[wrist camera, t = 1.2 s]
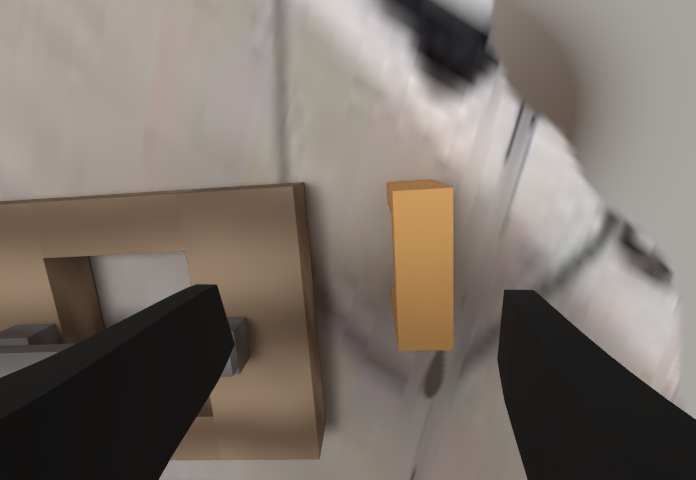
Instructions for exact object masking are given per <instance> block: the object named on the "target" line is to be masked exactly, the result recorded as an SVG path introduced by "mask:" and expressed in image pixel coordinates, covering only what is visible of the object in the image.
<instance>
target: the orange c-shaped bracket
mask: <svg viewBox="0 0 696 480" xmlns="http://www.w3.org/2000/svg"><path fill="white" fill-rule="evenodd" d="M387 198H388V206H389V208H390V211H391V214H392V236H393V261H394V286H391V293H392V308H393V315H394V322H395V329H396V336H397V343H398V350H399V351H432V350H454V288H453V187H450V186H448V185H445V184H442V183H439V182H437V181H434V180H418V181H402V182H387Z"/></svg>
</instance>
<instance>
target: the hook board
mask: <svg viewBox="0 0 696 480" xmlns="http://www.w3.org/2000/svg"><path fill="white" fill-rule="evenodd" d="M177 251H186V257H187V263H188V269H189V274H190V280H191V286H193V285H196V284H217V286H218V289H219V293H220V296H221V299H222V303H223V306H224V309H225V313H226V316H227V319H228V323H229V326H230V330H231V333H232V336H233V340H234V343H235V345H234V348H233V350H232V352H231V355H230V357H229V360H228V362H227V364H226V366H225V368H224V371H223V373H222V375H221V377H220V379H219V381H218V382H217V384H216V386H215V388H214V389H213V391H212V392H211V394H210V396H209V397H208V399H207V401H206V402H205V404H204V406H203V407H202V409H201V411H200V412H199V414H198V415H197V417H196V419H195V420H194V422H193V423H192V425H191V427H190V428H189V430H188V431H187V433H186V435H185V436H184V438H183V440H182V441H181V443H180V444H179V446H178V448H177V449H176V451H175V452H174V454H173V456H172V457H171V459H170V460H282V459H320V453H321V447H322V442H323V436H324V430H325V424H326V421H325V410H324V399H323V389H322V378H321V367H320V356H319V345H318V334H317V323H316V312H315V301H314V290H313V279H312V268H311V258H310V247H309V236H308V225H307V214H306V203H305V192H304V182H301V183H286V184H270V185H254V186H238V187H222V188H206V189H191V190H175V191H159V192H143V193H127V194H112V195H96V196H80V197H64V198H48V199H32V200H17V201H1V202H0V378H1V377H3V376H6V375H8V374H10V373H13V372H15V371H17V370H20V369H22V368H25V367H27V366H29V365H32V364H34V363H36V362H38V361H41V360H43V359H45V358H47V357H50V356H52V355H54V354H56V353H58V352H60V351H63V350H65V349H67V348H69V347H71V346H73V345H75V344H77V343H79V342H81V341H83V340H85V339H87V338H89V337H91V336H93V335H95V334H97V333H99V332H101V331H103V330H105V327H104V323H103V319H102V314H101V310H100V306H99V301H98V297H97V292H96V288H95V284H94V279H93V275H92V271H91V266H90V262H89V258H88V256H97V255H117V254H137V253H157V252H177Z"/></svg>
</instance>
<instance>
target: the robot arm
mask: <svg viewBox="0 0 696 480" xmlns="http://www.w3.org/2000/svg"><path fill="white" fill-rule="evenodd" d="M234 345H235V343H234V340H233V336H232V333H231V330H230V326H229V323H228V319H227V316H226V313H225V309H224V306H223V303H222V299H221V296H220V293H219V289H218V286H217V284H196V285H193V286H191V287H188V288H186V289H184V290H182V291H180V292H177V293H175V294H173V295H171V296H169V297H167V298H165V299H163V300H161V301H159V302H157V303H155V304H154V305H152V306H150V307H148V308H146V309H144V310H142V311H140V312H138V313H136V314H134V315H132V316H130V317H129V318H127V319H125V320H123V321H121V322H119V323H117V324H115V325H113V326H111V327H109V328H107V329H105V330H103V331H101V332H99V333H97V334H95V335H93V336H91V337H89V338H87V339H85V340H83V341H81V342H79V343H77V344H75V345H73V346H71V347H69V348H67V349H65V350H63V351H60V352H58V353H56V354H54V355H52V356H50V357H47V358H45V359H43V360H41V361H38V362H36V363H34V364H32V365H29V366H27V367H25V368H22V369H20V370H17V371H15V372H13V373H10V374H8V375H6V376H3V377H1V378H0V480H159V478H160V476H161V474H162V473H163V471H164V469H165V467H166V466H167V464H168V462H169V460H170V459H171V457H172V456H173V454H174V452H175V451H176V449H177V448H178V446H179V444H180V443H181V441H182V440H183V438H184V436H185V435H186V433H187V431H188V430H189V428H190V427H191V425H192V423H193V422H194V420H195V419H196V417H197V415H198V414H199V412H200V411H201V409H202V407H203V406H204V404H205V402H206V401H207V399H208V397H209V396H210V394H211V392H212V391H213V389H214V388H215V386H216V384H217V382H218V381H219V379H220V377H221V375H222V373H223V371H224V368H225V366H226V364H227V362H228V360H229V357H230V355H231V352H232V350H233V348H234ZM497 359H498V366H499V372H500V378H501V384H502V389H503V395H504V401H505V404H506V408H507V411H508V415H509V418H510V422H511V425H512V428H513V432H514V435H515V439H516V442H517V445H518V449H519V452H520V455H521V459H522V462H523V465H524V469H525V472H526V476H527V479H528V480H696V419H694V418H693V417H691V416H690V415H688V414H687V413H686V412H684V411H683V410H681V409H680V408H678V407H677V406H676V405H674V404H673V403H671V402H670V401H669V400H667V399H666V398H664V397H663V396H662V395H660V394H659V393H658V392H656V391H655V390H654V389H653V388H651V387H650V386H649V385H647V384H646V383H645V382H643V381H642V380H641V379H639V378H638V377H637V376H635V375H634V374H633V373H631V372H630V371H629V370H627V369H626V368H625V367H624V366H622V365H621V364H620V363H618V362H617V361H616V360H615V359H613V358H612V357H611V356H610V355H608V354H607V353H606V352H605V351H604V350H602V349H601V348H600V347H599V346H598V345H596V344H595V343H594V342H593V341H592V340H590V339H589V338H588V337H587V336H586V335H584V334H583V333H582V332H581V331H580V330H579V329H577V328H576V327H575V326H574V325H573V324H572V323H571V322H569V321H568V320H567V319H566V318H565V317H564V316H563V315H561V314H560V313H559V312H558V311H557V310H556V309H555V308H554V307H552V306H551V305H550V304H549V303H548V302H547V301H546V300H544V299H543V298H542V297H541V296H540V295H539V294H538V293H536V292H535V291H534V290H504V298H503V308H502V318H501V328H500V338H499V348H498V358H497Z"/></svg>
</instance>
